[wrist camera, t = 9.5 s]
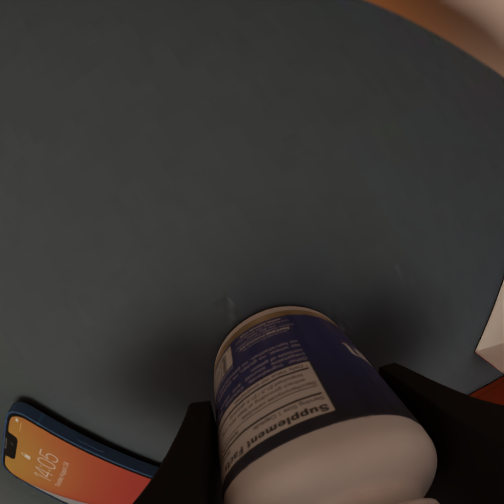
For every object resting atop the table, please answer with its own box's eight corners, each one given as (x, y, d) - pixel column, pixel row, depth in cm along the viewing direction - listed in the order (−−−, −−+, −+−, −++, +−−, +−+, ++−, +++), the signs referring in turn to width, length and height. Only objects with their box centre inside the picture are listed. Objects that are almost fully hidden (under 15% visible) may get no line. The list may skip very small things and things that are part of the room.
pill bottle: (364, 364, 13) (494, 534, 4) (264, 429, 13) (317, 622, 4) (302, 272, 12) (499, 492, 2) (185, 355, 12) (176, 618, 2)
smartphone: (214, 537, 16) (215, 548, 15) (6, 457, 12) (0, 469, 11) (275, 493, 15) (278, 506, 14) (16, 390, 11) (7, 403, 10)
